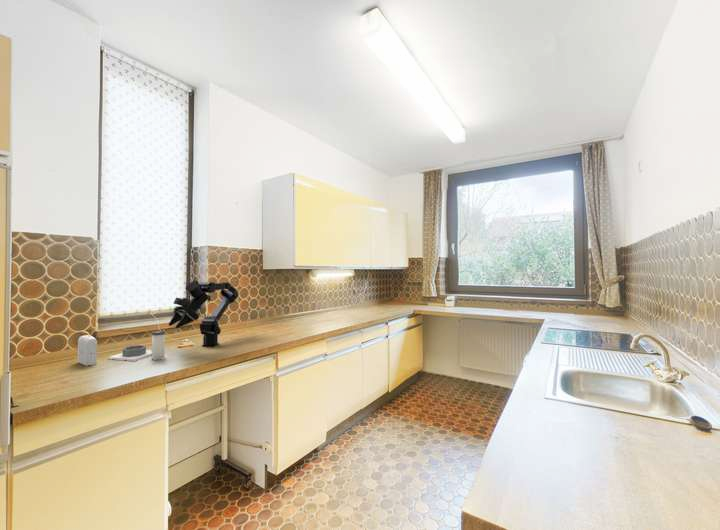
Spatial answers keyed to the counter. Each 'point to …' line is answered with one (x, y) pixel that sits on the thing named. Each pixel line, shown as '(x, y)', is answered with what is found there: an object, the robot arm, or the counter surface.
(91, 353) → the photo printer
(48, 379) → the counter surface
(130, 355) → the collar
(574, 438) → the counter surface
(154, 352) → the canister
